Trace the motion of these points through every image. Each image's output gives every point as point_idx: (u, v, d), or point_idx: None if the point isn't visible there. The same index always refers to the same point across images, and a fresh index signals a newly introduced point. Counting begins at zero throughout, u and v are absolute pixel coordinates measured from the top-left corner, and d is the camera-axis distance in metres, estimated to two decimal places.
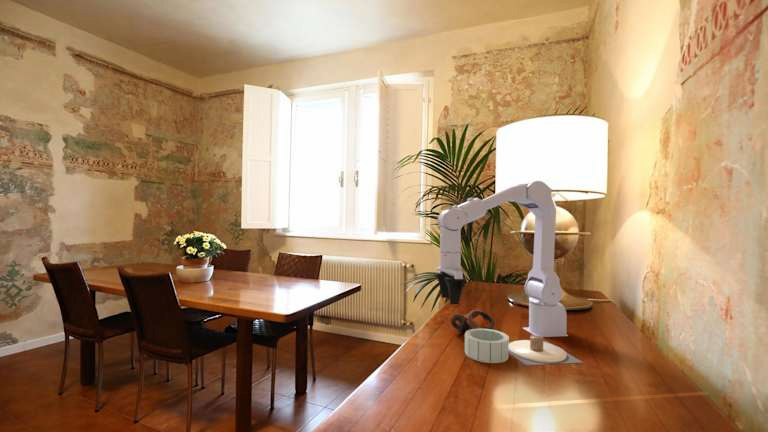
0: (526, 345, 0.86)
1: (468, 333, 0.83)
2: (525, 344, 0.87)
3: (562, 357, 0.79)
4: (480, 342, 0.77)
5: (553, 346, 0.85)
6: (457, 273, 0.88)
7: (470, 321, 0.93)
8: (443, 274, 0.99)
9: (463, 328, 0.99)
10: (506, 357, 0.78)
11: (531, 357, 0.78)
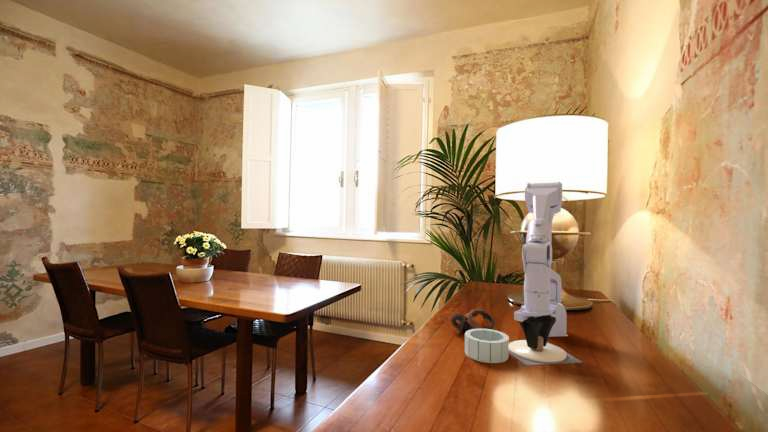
0: (526, 345, 0.86)
1: (468, 333, 0.83)
2: (525, 344, 0.87)
3: (562, 357, 0.79)
4: (480, 342, 0.77)
5: (553, 346, 0.85)
6: (515, 314, 0.80)
7: (471, 320, 0.93)
8: (538, 317, 0.85)
9: (463, 327, 1.00)
10: (506, 357, 0.78)
11: (531, 357, 0.78)
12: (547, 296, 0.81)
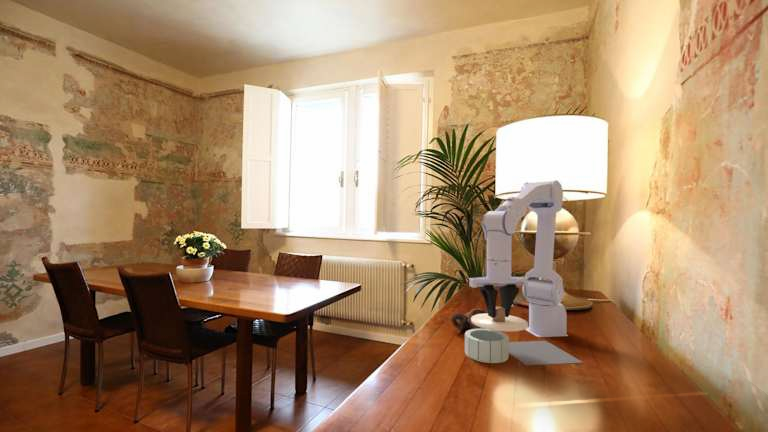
0: None
1: (468, 333, 0.83)
2: None
3: (517, 327, 0.76)
4: (480, 342, 0.77)
5: (520, 320, 0.82)
6: (470, 280, 0.81)
7: None
8: (503, 287, 0.83)
9: (464, 327, 1.01)
10: (506, 357, 0.78)
11: (483, 324, 0.78)
12: (505, 264, 0.79)
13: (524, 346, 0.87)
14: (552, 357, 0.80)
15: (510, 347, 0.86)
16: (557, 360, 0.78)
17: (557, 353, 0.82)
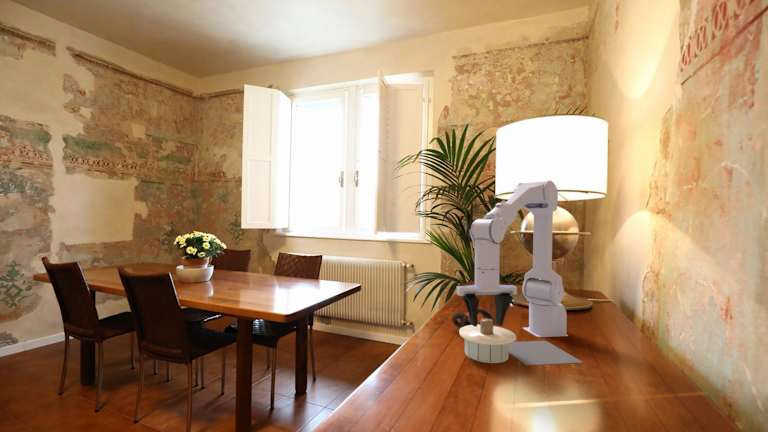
0: None
1: None
2: None
3: (503, 341, 0.76)
4: None
5: (509, 333, 0.82)
6: (457, 288, 0.81)
7: None
8: (497, 295, 0.83)
9: None
10: (506, 357, 0.78)
11: (470, 337, 0.78)
12: (492, 273, 0.79)
13: (524, 346, 0.87)
14: (552, 357, 0.80)
15: (510, 347, 0.86)
16: (557, 360, 0.78)
17: (557, 353, 0.82)
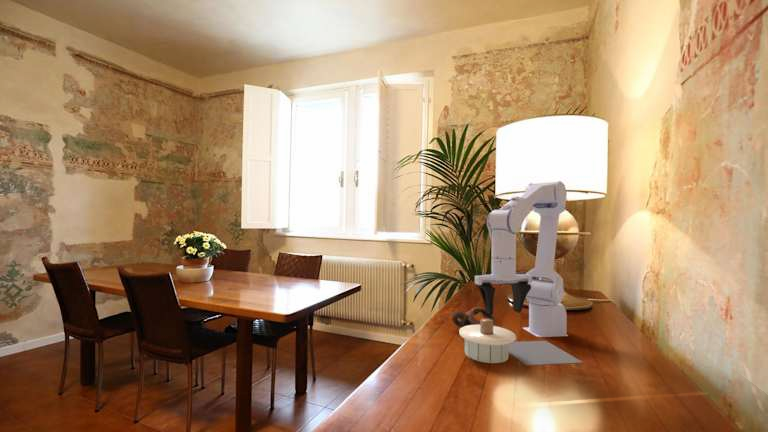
0: None
1: None
2: None
3: (503, 341, 0.76)
4: None
5: (509, 333, 0.82)
6: (475, 277, 0.83)
7: (472, 318, 0.95)
8: (515, 284, 0.86)
9: (464, 325, 1.02)
10: (506, 357, 0.78)
11: (470, 337, 0.78)
12: (509, 262, 0.81)
13: (524, 346, 0.87)
14: (552, 357, 0.80)
15: (510, 347, 0.86)
16: (557, 360, 0.78)
17: (557, 353, 0.82)
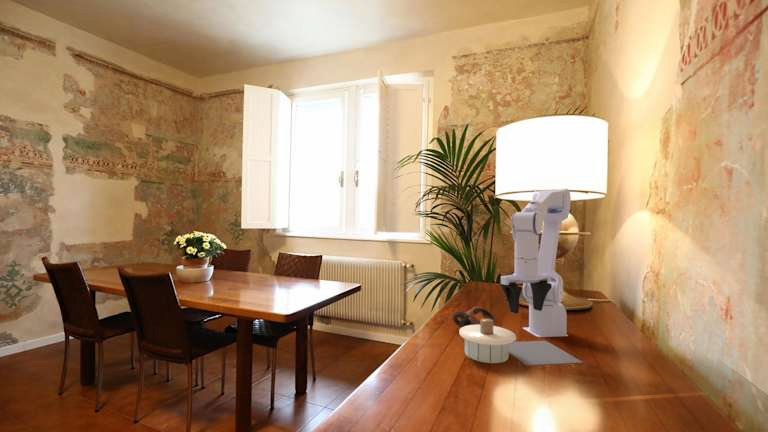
0: None
1: None
2: None
3: (503, 341, 0.76)
4: None
5: (509, 333, 0.82)
6: (501, 278, 0.85)
7: (472, 318, 0.96)
8: (535, 283, 0.89)
9: (464, 325, 1.02)
10: (506, 357, 0.78)
11: (470, 337, 0.78)
12: (534, 262, 0.85)
13: (524, 346, 0.87)
14: (552, 357, 0.80)
15: (510, 347, 0.86)
16: (557, 360, 0.78)
17: (557, 353, 0.82)
